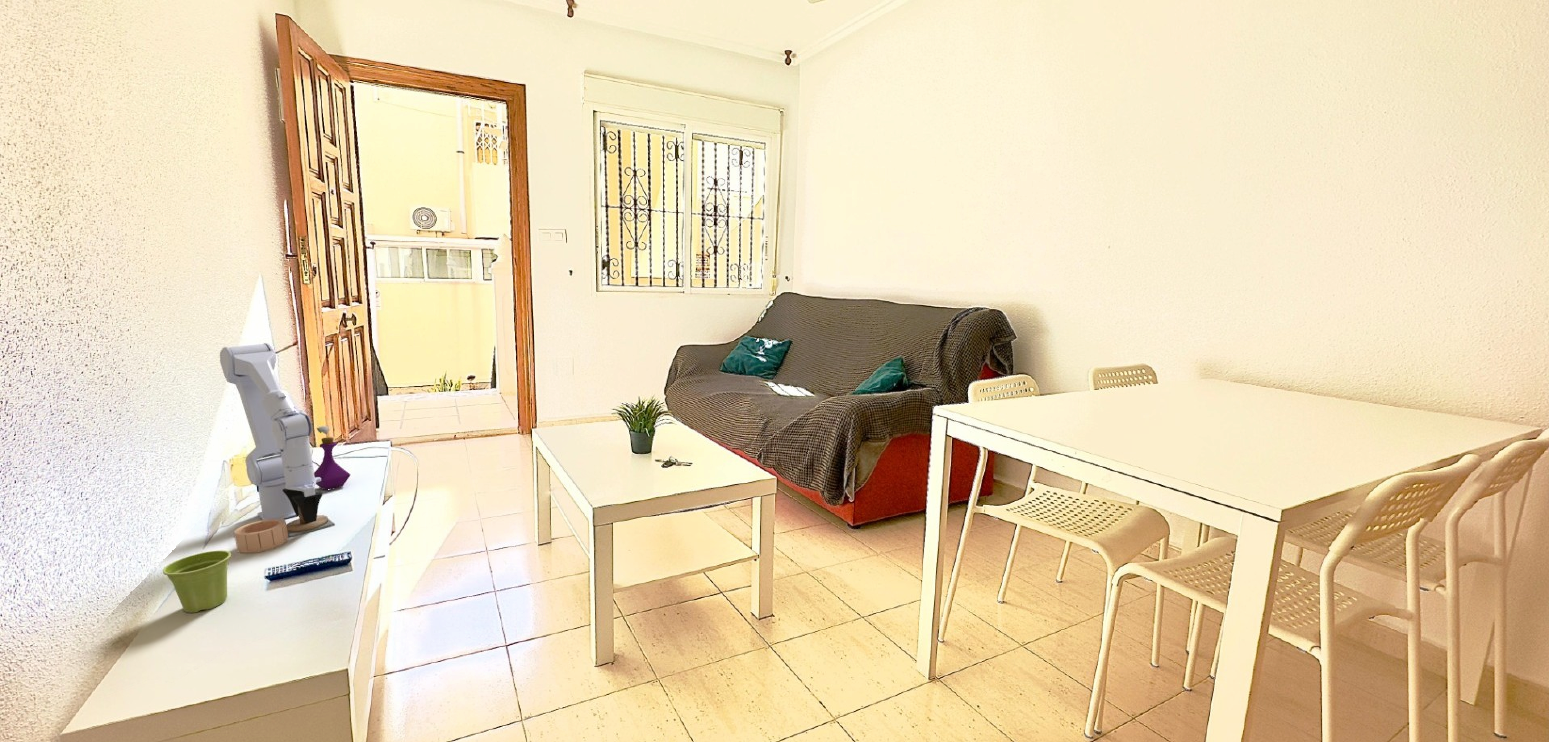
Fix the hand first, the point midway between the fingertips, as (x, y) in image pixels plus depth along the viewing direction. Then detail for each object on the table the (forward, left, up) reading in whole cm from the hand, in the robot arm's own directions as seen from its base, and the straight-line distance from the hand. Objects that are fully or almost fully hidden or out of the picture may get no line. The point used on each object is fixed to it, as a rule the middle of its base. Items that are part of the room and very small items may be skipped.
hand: (306, 518), depth 155 cm
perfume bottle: (-30, +13, -2) cm, 32 cm away
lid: (0, 0, -2) cm, 2 cm away
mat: (0, 0, -2) cm, 2 cm away
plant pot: (+29, -23, -2) cm, 37 cm away
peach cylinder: (+4, -10, -2) cm, 11 cm away
